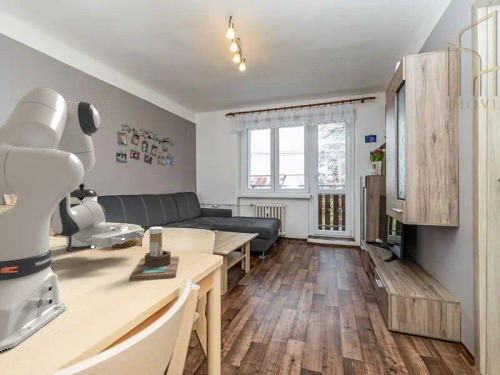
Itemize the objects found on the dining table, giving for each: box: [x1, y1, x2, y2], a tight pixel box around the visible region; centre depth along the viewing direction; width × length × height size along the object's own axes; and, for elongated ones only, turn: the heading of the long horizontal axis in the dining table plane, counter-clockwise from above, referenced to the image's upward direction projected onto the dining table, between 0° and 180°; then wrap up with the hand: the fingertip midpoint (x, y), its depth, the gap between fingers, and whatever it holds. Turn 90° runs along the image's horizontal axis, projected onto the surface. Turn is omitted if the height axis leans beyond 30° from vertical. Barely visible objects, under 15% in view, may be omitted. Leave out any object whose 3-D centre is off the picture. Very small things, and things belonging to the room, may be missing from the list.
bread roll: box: [111, 238, 140, 249], centre depth 120 cm, size 13×10×8 cm
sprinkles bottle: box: [148, 226, 164, 257], centre depth 90 cm, size 5×5×14 cm
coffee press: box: [65, 183, 99, 252], centre depth 117 cm, size 17×16×30 cm
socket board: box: [129, 250, 180, 281], centre depth 89 cm, size 19×14×5 cm
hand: (133, 238), depth 96 cm, fingers open, 8 cm apart
